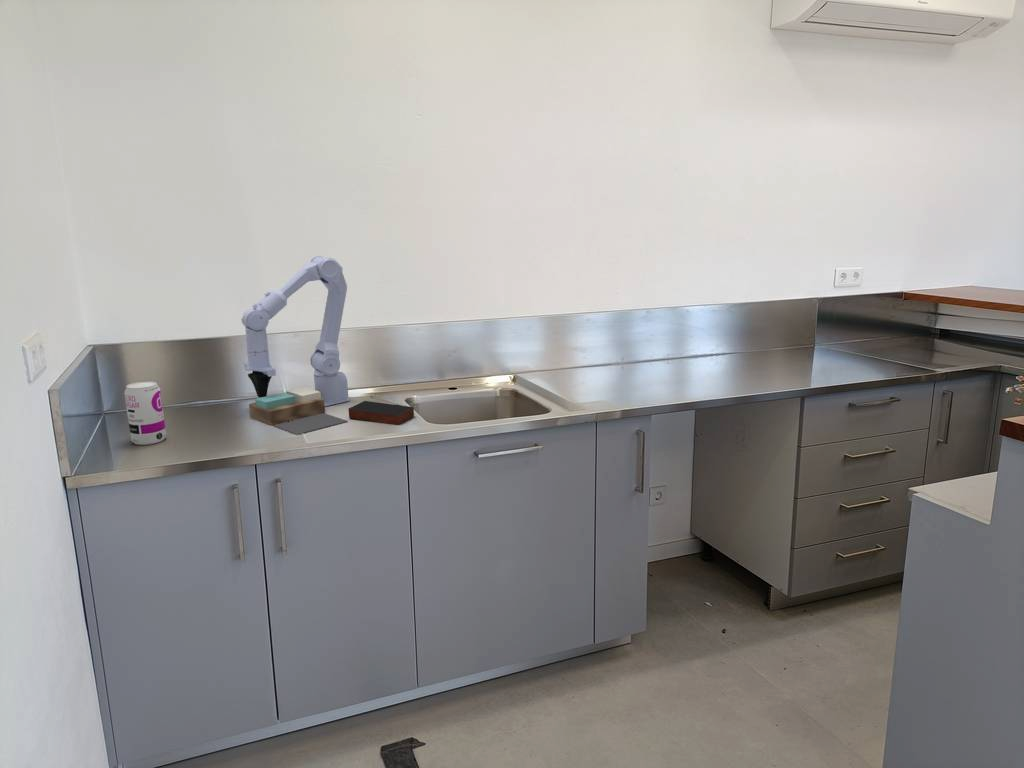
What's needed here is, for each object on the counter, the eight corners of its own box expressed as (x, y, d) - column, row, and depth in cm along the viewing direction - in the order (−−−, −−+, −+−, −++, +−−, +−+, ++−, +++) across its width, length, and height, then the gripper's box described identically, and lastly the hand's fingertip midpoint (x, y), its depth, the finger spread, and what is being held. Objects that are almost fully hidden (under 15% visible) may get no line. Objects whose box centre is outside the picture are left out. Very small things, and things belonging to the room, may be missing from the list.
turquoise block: (284, 399, 213) (283, 392, 212) (295, 402, 209) (294, 396, 208) (255, 405, 206) (255, 398, 206) (266, 409, 202) (265, 402, 202)
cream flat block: (286, 397, 215) (285, 390, 214) (304, 393, 219) (303, 386, 219) (302, 402, 209) (302, 395, 208) (321, 398, 213) (320, 391, 213)
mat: (323, 413, 212) (323, 413, 212) (347, 421, 204) (347, 420, 204) (273, 426, 200) (273, 425, 200) (296, 435, 192) (296, 434, 192)
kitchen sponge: (399, 426, 201) (425, 411, 214) (398, 415, 200) (425, 401, 213) (342, 418, 207) (371, 403, 221) (341, 408, 206) (370, 394, 220)
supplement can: (171, 435, 193) (164, 380, 190) (158, 445, 185) (150, 388, 182) (140, 436, 193) (133, 381, 189) (125, 446, 185) (117, 389, 181)
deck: (302, 405, 221) (301, 392, 220) (324, 412, 213) (323, 399, 212) (250, 417, 209) (248, 403, 208) (271, 425, 201) (270, 411, 200)
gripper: (232, 349, 211) (237, 395, 214) (257, 356, 201) (262, 403, 205) (255, 346, 216) (259, 390, 219) (280, 352, 206) (284, 398, 210)
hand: (262, 396), depth 212 cm, fingers closed
